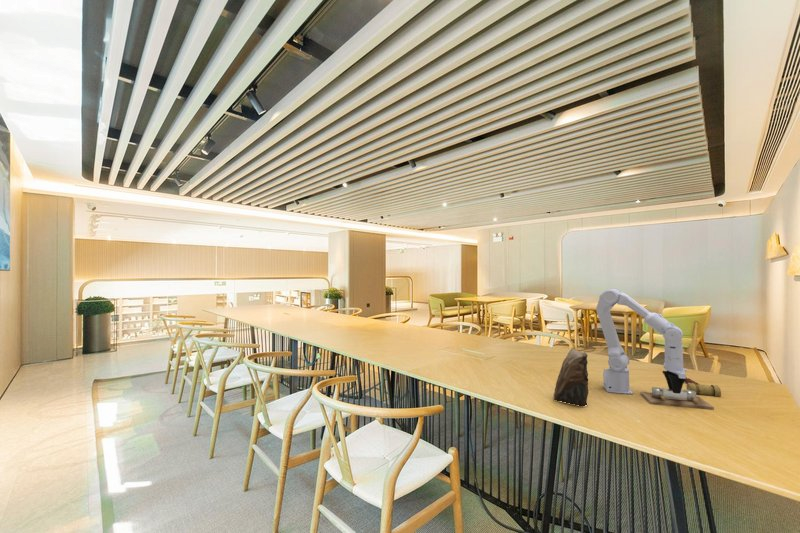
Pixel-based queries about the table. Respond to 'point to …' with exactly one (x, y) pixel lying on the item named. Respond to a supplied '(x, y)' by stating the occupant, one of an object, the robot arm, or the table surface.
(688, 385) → the gavel
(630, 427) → the table surface
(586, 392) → the dark brown rock
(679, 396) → the silver ball-ended bar
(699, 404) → the board
